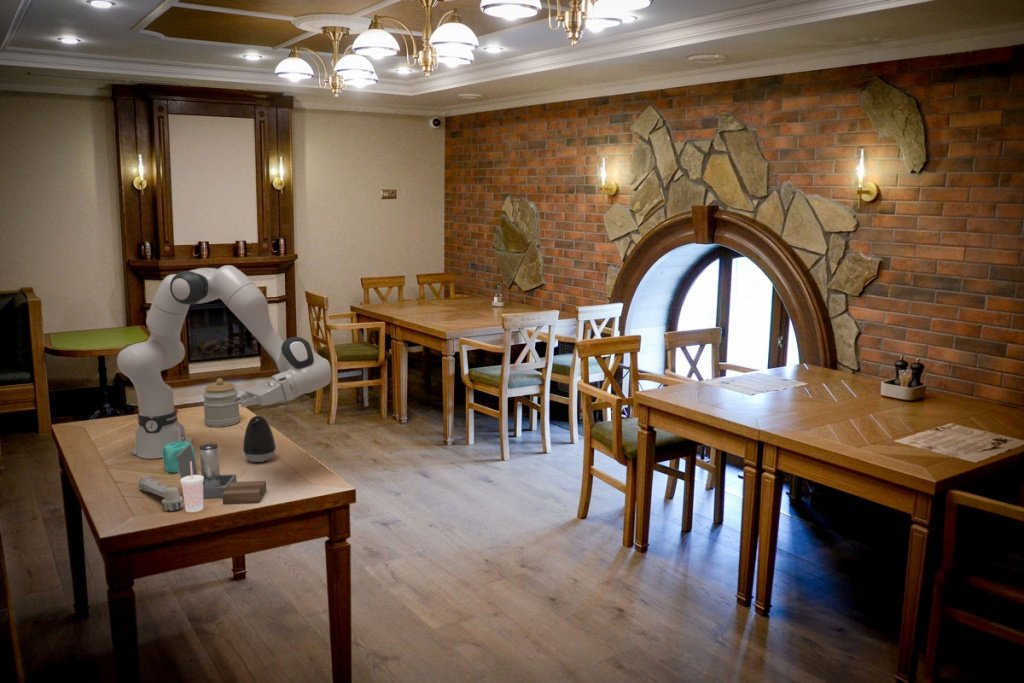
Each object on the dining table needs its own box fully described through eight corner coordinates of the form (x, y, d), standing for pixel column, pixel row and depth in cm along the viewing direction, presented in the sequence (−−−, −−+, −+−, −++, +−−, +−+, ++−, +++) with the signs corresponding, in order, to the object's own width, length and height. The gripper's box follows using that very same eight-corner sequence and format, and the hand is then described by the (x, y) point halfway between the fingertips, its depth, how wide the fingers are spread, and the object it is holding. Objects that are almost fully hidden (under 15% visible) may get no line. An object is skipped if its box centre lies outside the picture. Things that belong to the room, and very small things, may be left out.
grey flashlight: (153, 474, 248) (183, 484, 230) (156, 496, 249) (187, 507, 230) (135, 478, 245) (164, 488, 226) (138, 500, 245) (168, 512, 227)
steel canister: (205, 488, 246) (202, 443, 244) (222, 488, 247) (219, 443, 244) (200, 494, 241) (197, 448, 239) (218, 494, 242) (214, 448, 239)
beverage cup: (199, 503, 234) (195, 456, 232) (210, 508, 230) (206, 460, 228) (178, 509, 230) (174, 461, 227) (189, 515, 226) (185, 466, 223)
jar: (236, 426, 312) (233, 381, 309) (201, 428, 310) (197, 382, 307) (243, 417, 325) (240, 374, 322) (209, 419, 323) (205, 375, 320)
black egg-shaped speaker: (239, 465, 267) (235, 420, 265) (250, 455, 278) (247, 411, 275) (269, 465, 267) (266, 420, 264) (280, 455, 277) (277, 412, 274)
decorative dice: (170, 474, 259) (168, 450, 257) (163, 468, 265) (161, 444, 264) (196, 469, 264) (194, 445, 262) (189, 463, 270) (187, 439, 268)
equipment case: (191, 485, 249) (187, 444, 247) (236, 483, 250) (233, 442, 248) (179, 499, 238) (175, 456, 235) (227, 497, 239) (223, 454, 237)
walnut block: (231, 491, 244) (231, 482, 243) (266, 490, 244) (265, 480, 244) (222, 504, 234) (222, 494, 233) (258, 502, 235) (258, 492, 234)
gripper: (270, 375, 260) (227, 390, 254) (287, 380, 243) (241, 396, 236) (276, 394, 262) (233, 409, 255) (294, 400, 244) (248, 416, 237)
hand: (237, 403), depth 246 cm, fingers open, 8 cm apart
